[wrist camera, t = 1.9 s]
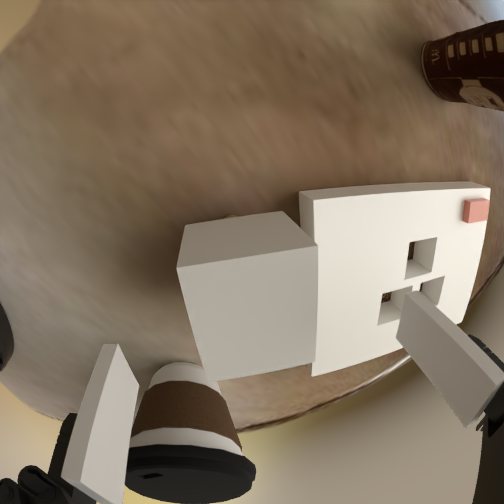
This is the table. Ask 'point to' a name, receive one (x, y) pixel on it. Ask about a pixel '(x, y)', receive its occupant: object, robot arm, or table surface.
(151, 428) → the coffee cup
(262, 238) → the plug
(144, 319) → the table surface
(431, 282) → the socket plate
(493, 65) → the coffee cup
